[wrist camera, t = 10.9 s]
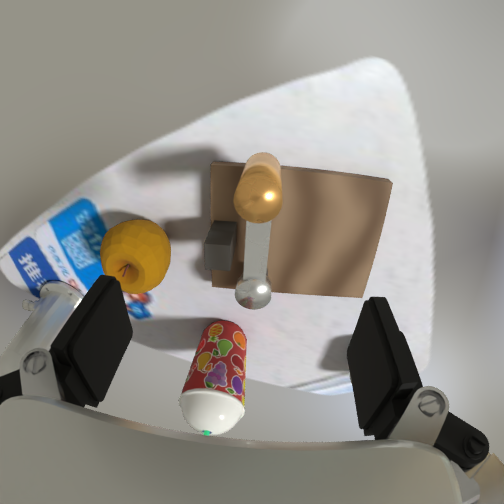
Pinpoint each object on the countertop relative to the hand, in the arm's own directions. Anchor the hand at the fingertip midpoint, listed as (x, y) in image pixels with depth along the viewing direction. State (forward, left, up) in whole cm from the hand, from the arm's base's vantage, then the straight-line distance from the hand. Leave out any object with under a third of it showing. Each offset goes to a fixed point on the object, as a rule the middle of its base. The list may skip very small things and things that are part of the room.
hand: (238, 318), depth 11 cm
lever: (0, -7, -20) cm, 21 cm away
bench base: (+5, -8, -24) cm, 26 cm away
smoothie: (-4, -26, -25) cm, 36 cm away
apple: (-14, -10, -25) cm, 30 cm away
